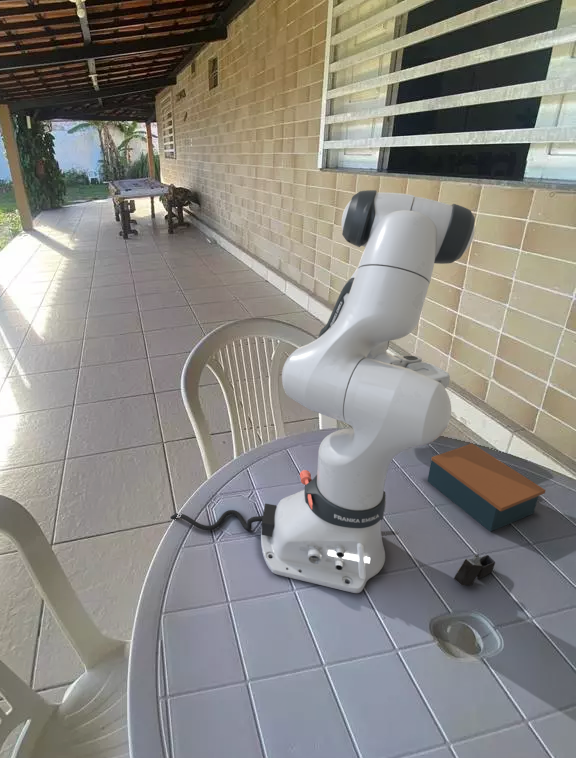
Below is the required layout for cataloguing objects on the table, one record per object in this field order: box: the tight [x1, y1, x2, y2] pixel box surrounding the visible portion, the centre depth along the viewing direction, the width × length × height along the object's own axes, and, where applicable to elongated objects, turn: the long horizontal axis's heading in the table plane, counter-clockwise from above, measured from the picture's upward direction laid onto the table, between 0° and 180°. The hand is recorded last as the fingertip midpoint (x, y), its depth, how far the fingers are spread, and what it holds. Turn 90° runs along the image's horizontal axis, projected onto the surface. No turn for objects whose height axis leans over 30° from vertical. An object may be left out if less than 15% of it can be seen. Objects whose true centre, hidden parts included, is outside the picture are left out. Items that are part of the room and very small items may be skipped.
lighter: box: [453, 553, 496, 586], centre depth 72 cm, size 8×2×5 cm
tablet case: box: [427, 459, 540, 532], centre depth 87 cm, size 15×12×6 cm
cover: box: [430, 442, 546, 511], centre depth 86 cm, size 15×12×1 cm
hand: (435, 400), depth 94 cm, fingers closed
